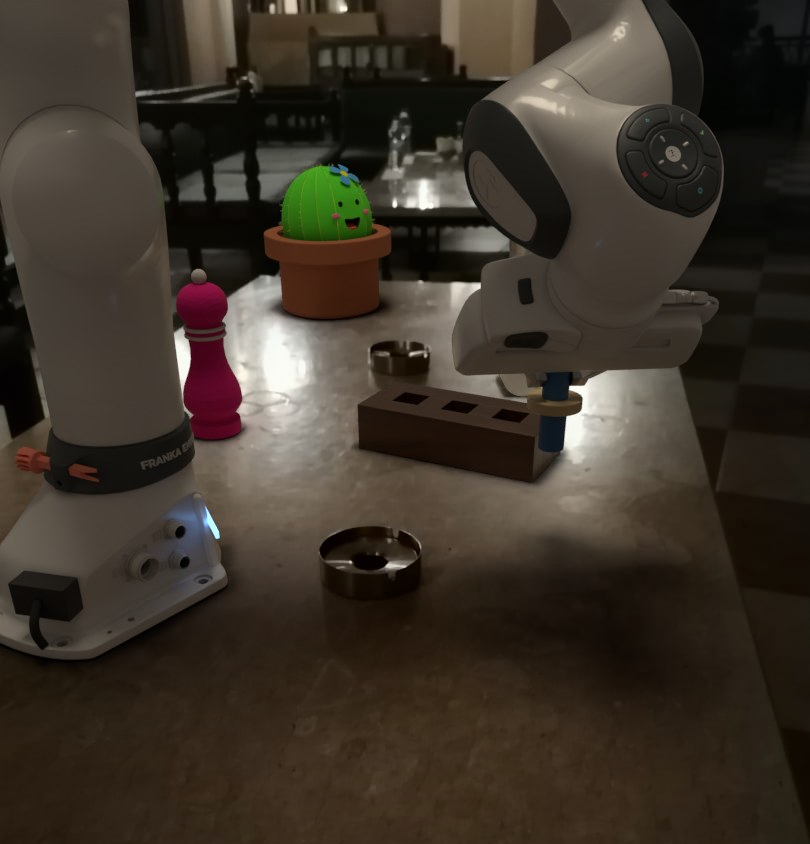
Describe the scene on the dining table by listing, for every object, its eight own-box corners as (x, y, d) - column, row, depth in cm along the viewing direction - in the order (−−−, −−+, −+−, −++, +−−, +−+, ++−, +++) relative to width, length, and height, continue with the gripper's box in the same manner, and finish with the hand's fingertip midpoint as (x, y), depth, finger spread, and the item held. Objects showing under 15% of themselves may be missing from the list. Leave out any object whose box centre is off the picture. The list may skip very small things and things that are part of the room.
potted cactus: (248, 306, 168) (235, 161, 156) (343, 287, 181) (337, 152, 169) (316, 331, 154) (307, 173, 142) (414, 308, 166) (414, 161, 154)
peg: (567, 462, 82) (578, 342, 76) (515, 452, 84) (523, 334, 78) (584, 443, 86) (596, 328, 80) (534, 434, 88) (543, 321, 82)
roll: (529, 368, 135) (531, 331, 132) (544, 395, 125) (547, 356, 122) (489, 369, 135) (490, 332, 132) (501, 397, 124) (503, 357, 122)
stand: (532, 482, 100) (535, 436, 98) (358, 447, 109) (357, 404, 107) (560, 452, 107) (563, 408, 105) (395, 422, 117) (395, 380, 114)
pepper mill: (233, 443, 111) (215, 277, 101) (178, 439, 112) (155, 274, 102) (253, 422, 117) (238, 263, 107) (201, 418, 118) (181, 261, 109)
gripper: (720, 258, 71) (659, 344, 84) (463, 264, 69) (441, 352, 82) (735, 330, 69) (670, 407, 82) (471, 338, 67) (447, 416, 80)
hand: (554, 379), depth 82 cm, fingers closed on peg, 2 cm apart
